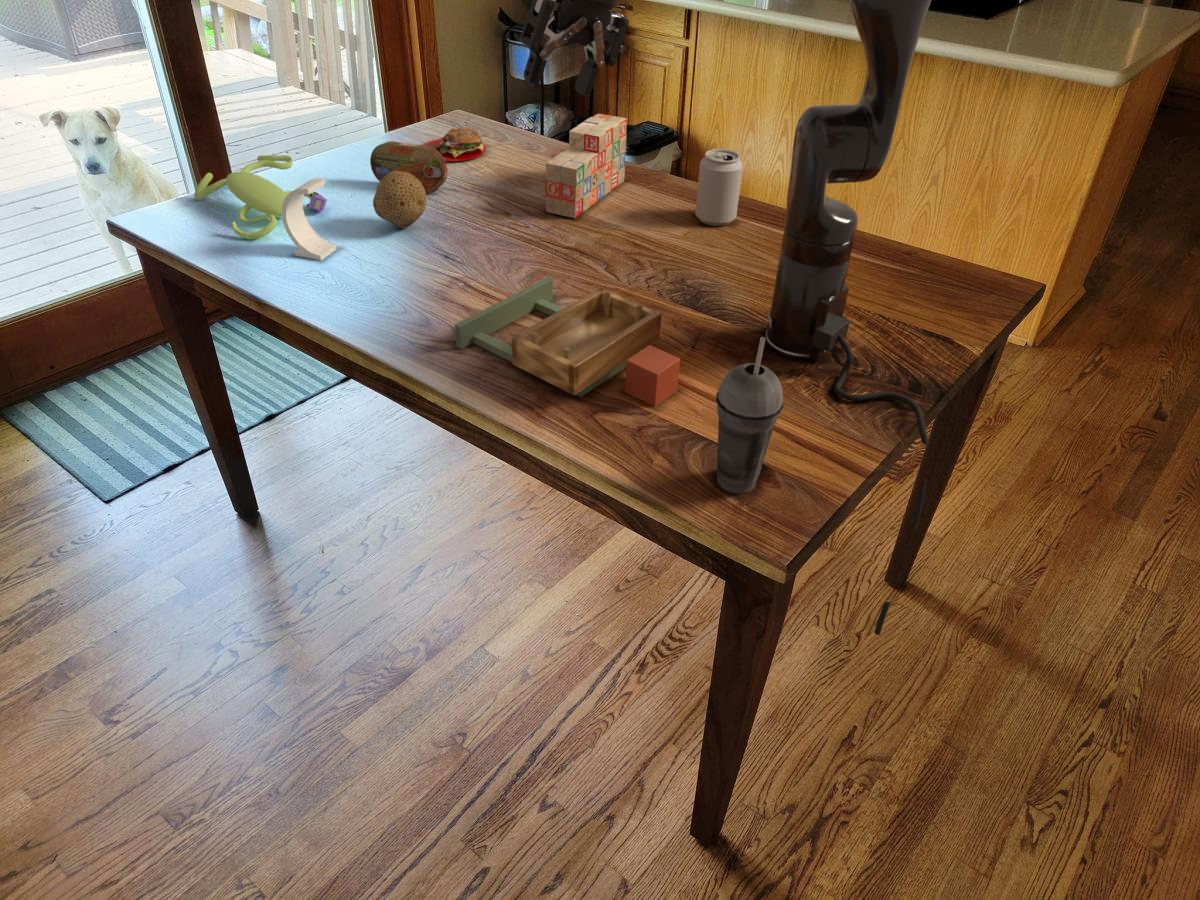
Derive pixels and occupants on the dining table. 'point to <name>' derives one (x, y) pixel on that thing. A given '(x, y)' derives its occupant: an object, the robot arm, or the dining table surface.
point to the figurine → (257, 193)
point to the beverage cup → (746, 423)
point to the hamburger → (459, 145)
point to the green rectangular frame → (507, 312)
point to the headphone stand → (304, 224)
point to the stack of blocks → (587, 165)
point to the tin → (410, 163)
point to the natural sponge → (400, 199)
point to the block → (652, 375)
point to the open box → (585, 340)
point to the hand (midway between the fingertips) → (556, 89)
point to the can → (718, 187)
